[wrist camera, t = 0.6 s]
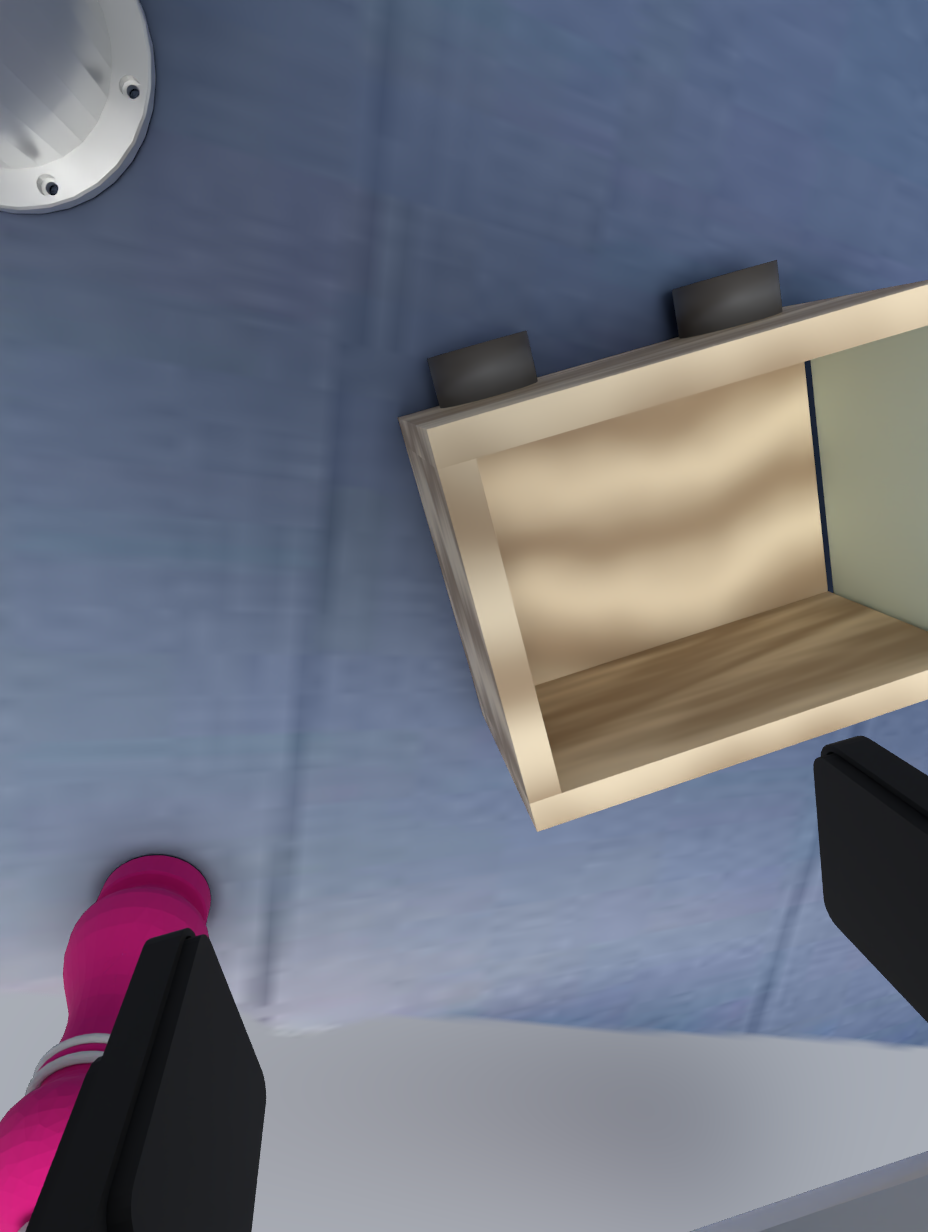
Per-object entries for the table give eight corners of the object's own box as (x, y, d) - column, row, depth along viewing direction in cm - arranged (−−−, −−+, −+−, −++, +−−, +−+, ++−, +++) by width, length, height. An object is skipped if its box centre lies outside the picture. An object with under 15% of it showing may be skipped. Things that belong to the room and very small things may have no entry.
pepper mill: (230, 856, 44) (155, 1201, 25) (207, 954, 46) (119, 1346, 27) (103, 837, 42) (-79, 1194, 24) (83, 940, 44) (-101, 1349, 25)
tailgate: (805, 306, 39) (985, 274, 28) (835, 297, 39) (1028, 262, 28) (835, 609, 45) (995, 679, 34) (862, 601, 45) (1030, 667, 34)
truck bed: (384, 370, 38) (407, 362, 26) (776, 260, 39) (966, 205, 28) (492, 748, 45) (549, 874, 33) (818, 641, 47) (982, 725, 35)
